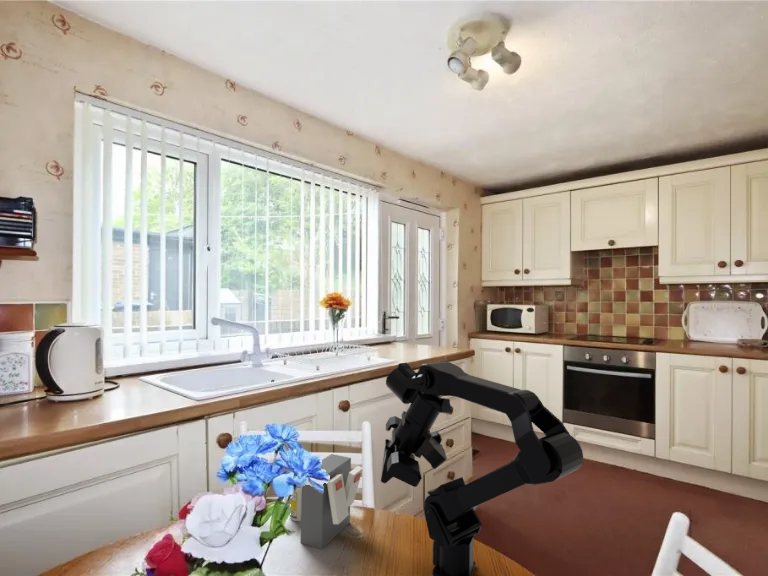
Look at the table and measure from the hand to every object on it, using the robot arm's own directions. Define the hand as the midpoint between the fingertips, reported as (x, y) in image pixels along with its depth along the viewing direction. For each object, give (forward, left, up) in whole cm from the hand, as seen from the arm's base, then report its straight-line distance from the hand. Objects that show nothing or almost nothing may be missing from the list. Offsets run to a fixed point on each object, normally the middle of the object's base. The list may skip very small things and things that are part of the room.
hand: (382, 481), depth 84 cm
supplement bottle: (+20, 0, -12) cm, 23 cm away
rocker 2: (+8, 0, -7) cm, 11 cm away
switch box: (+12, +3, -12) cm, 17 cm away
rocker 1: (+6, +5, -7) cm, 11 cm away
